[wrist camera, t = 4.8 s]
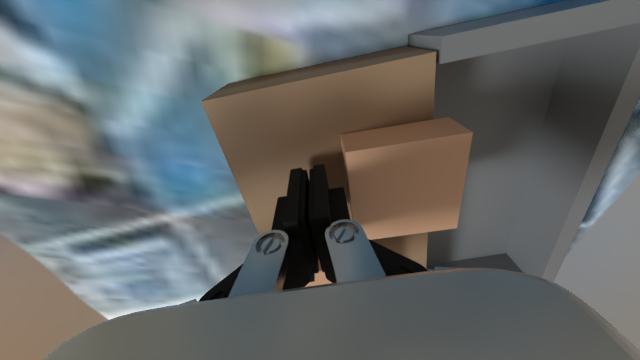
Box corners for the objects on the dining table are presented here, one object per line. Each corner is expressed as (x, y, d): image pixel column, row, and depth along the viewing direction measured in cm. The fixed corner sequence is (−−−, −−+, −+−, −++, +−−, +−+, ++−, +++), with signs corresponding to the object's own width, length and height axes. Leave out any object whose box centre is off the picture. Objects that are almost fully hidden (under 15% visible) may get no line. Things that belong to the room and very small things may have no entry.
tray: (408, 34, 13) (442, 36, 10) (589, -5, 12) (693, -18, 9) (409, 269, 23) (426, 311, 19) (511, 254, 22) (547, 294, 19)
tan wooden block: (227, 83, 14) (201, 101, 11) (404, 45, 13) (436, 51, 10) (300, 281, 23) (298, 324, 20) (407, 265, 23) (424, 307, 19)
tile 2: (340, 134, 12) (345, 152, 10) (448, 117, 11) (472, 132, 10) (350, 216, 14) (355, 241, 13) (439, 203, 14) (457, 228, 12)
